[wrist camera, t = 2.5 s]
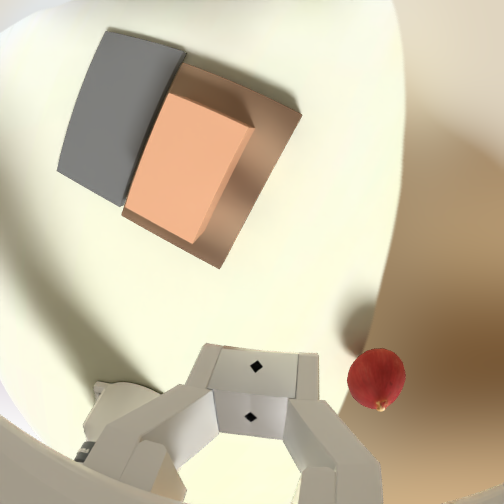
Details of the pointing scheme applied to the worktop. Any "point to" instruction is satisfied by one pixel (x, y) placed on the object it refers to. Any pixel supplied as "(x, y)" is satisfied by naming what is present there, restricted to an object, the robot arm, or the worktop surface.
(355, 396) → the onion
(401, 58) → the worktop surface
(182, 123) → the orange rectangular block
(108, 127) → the mat
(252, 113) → the board
